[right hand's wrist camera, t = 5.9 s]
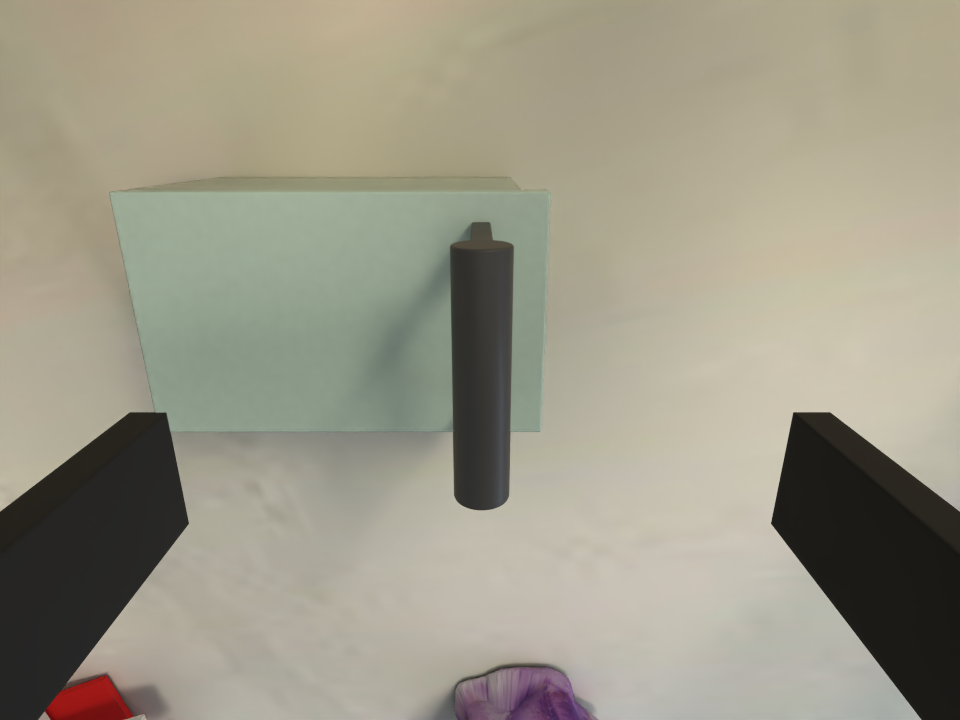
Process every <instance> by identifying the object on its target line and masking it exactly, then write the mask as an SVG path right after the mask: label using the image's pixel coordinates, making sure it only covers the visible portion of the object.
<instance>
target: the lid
mask: <svg viewBox="0 0 960 720" xmlns="http://www.w3.org/2000/svg"><path fill="white" fill-rule="evenodd" d="M110 199H111V204H112V209H113V214H114V218H115V223H116V228H117V233H118V238H119V242H120V247H121V252H122V257H123V262H124V266H125V271H126V276H127V281H128V286H129V290H130V295H131V300H132V305H133V310H134V314H135V319H136V324H137V329H138V334H139V338H140V343H141V348H142V353H143V358H144V362H145V367H146V372H147V377H148V381H149V386H150V391H151V396H152V401H153V405H154V410H155V412H167V417H168V422H169V427H170V432H453V455H454V496H455V498H456V500H457V502H458V503H459V504H461V505H462V506H464V507H467V508H470V509H474V510H490V509H494V508H497V507H499V506H501V505H503V504H504V503H505V502H506V501H507V499H508V497H509V475H510V432H540V431H541V425H542V400H543V375H544V350H545V325H546V300H547V275H548V249H549V224H550V199H551V193H550V192H549V191H547V190H120V191H112V192H110Z"/></svg>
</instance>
